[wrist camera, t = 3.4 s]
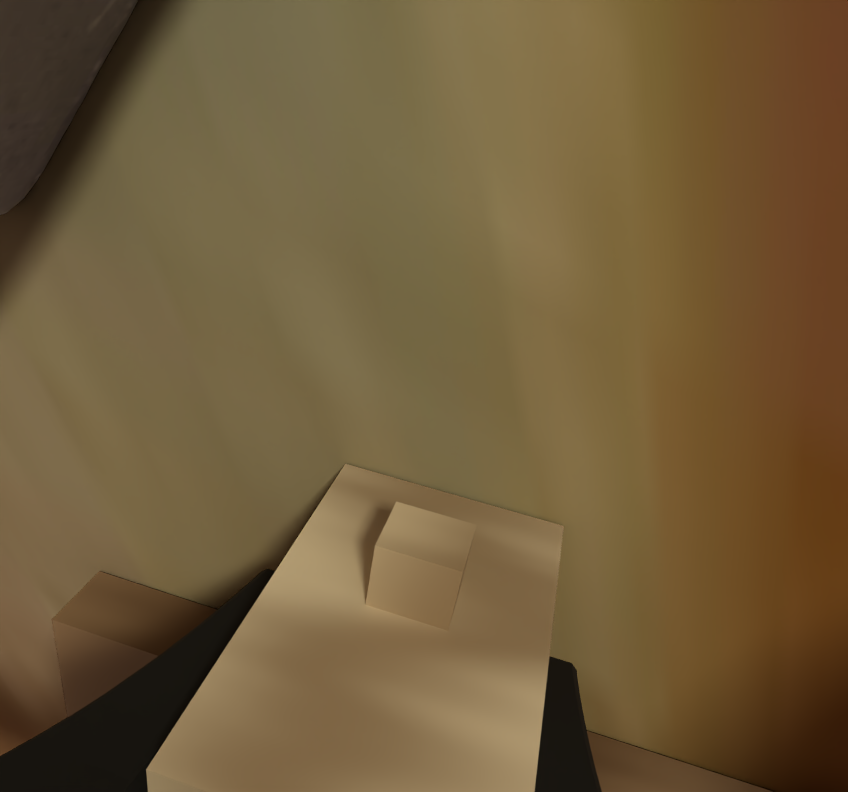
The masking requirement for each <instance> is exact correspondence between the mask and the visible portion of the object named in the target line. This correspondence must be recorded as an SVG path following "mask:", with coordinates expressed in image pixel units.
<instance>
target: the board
mask: <svg viewBox="0 0 848 792" xmlns="http://www.w3.org/2000/svg"><path fill="white" fill-rule="evenodd" d="M215 611H216V609H213V608H210V607H207V606H204V605H201V604H198V603H195V602H192V601H189V600H186V599H183V598H180V597H177V596H174V595H171V594H168V593H164V592H161V591H158V590H155V589H152V588H149V587H146V586H143V585H140V584H137V583H134V582H131V581H128V580H125V579H122V578H119V577H116V576H112V575H109V574H106V573H103V572H100V571H99V572H98V573H97V574H96V575H95V576H94V577H93V578H92V579H91V580H90V581H89V582H88V583H87V584H86V585H85V586H84V587H83V588H82V589H81V590H80V591H79V592H78V593H77V594H76V595H75V596H74V597H73V598H72V599H71V600H70V601H69V602H68V603H67V605H66V606H65V607H64V608H63V609H62V610H61V611H60V612H59V613H58V614H57V615H56V616H55V617H54V618H53V619H52V624H53V631H54V637H55V643H56V649H57V655H58V662H59V668H60V674H61V680H62V686H63V693H64V699H65V705H66V711H67V717H69V716H71V715H72V714H74V713H75V712H77V711H79V710H80V709H82V708H83V707H85V706H86V705H88V704H90V703H91V702H93V701H94V700H96V699H97V698H99V697H100V696H102V695H103V694H105V693H106V692H108V691H109V690H111V689H112V688H114V687H115V686H117V685H118V684H119V683H121V682H122V681H124V680H125V679H126V678H128V677H129V676H131V675H132V674H134V673H135V672H136V671H138V670H139V669H141V668H142V667H144V666H145V665H146V664H148V663H149V662H151V661H152V660H154V659H155V658H156V657H158V656H159V655H160V654H162V653H163V652H164V651H166V650H167V649H168V648H170V647H171V646H172V645H173V644H175V643H176V642H177V641H179V640H180V639H181V638H182V637H184V636H185V635H186V634H188V633H189V632H190V631H192V630H193V629H194V628H195V627H197V626H198V625H199V624H201V623H202V622H203V621H204V620H205V619H207V618H208V617H209V616H210V615H212V614H213V613H214V612H215ZM587 734H588V739H589V743H590V748H591V752H592V756H593V760H594V764H595V768H596V772H597V776H598V779H599V783H600V787H601V790H602V792H773V791H770V790H767V789H764V788H761V787H757V786H754V785H751V784H748V783H745V782H742V781H739V780H736V779H733V778H730V777H727V776H724V775H721V774H718V773H715V772H712V771H709V770H706V769H702V768H699V767H696V766H693V765H690V764H687V763H684V762H681V761H678V760H675V759H672V758H669V757H666V756H663V755H660V754H657V753H654V752H650V751H647V750H644V749H641V748H638V747H635V746H632V745H629V744H626V743H623V742H620V741H617V740H614V739H611V738H608V737H605V736H602V735H599V734H595V733H592V732H589V731H587Z"/></svg>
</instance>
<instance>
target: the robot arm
mask: <svg viewBox="0 0 848 792" xmlns="http://www.w3.org/2000/svg"><path fill="white" fill-rule="evenodd" d="M274 573H275V571H273V570H270V569H266V570H264V571H262V572H261V573H260V574H259V575H257V576H256V577H255V578H254V579H253V580H252V581H251V582H249V583H248V584H247V585H246V586H245V587H244V588H243V589H241V590H240V591H239V592H238V593H237V594H236V595H234V596H233V597H232V598H231V599H230V600H229V601H227V602H226V603H225V604H224V605H223V606H221V607H220V608H219V609H218V610H216V611H215V612H214V613H213V614H212V615H210V616H209V617H208V618H207V619H205V620H204V621H203V622H202V623H201V624H199V625H198V626H197V627H195V628H194V629H193V630H192V631H190V632H189V633H188V634H186V635H185V636H184V637H182V638H181V639H180V640H179V641H177V642H176V643H175V644H173V645H172V646H171V647H170V648H168V649H167V650H166V651H164V652H163V653H162V654H160V655H159V656H158V657H156V658H155V659H154V660H152V661H151V662H149V663H148V664H146V665H145V666H144V667H142V668H141V669H139V670H138V671H136V672H135V673H134V674H132V675H131V676H129V677H128V678H126V679H125V680H124V681H122V682H121V683H119V684H118V685H117V686H115V687H114V688H112V689H111V690H109V691H108V692H106V693H105V694H103V695H102V696H100V697H99V698H97V699H96V700H94V701H93V702H91V703H90V704H88V705H86V706H85V707H83V708H82V709H80V710H79V711H77V712H75V713H74V714H72V715H71V716H69V717H67V718H66V719H64V720H62V721H61V722H59V723H57V724H56V725H54V726H52V727H51V728H49V729H47V730H46V731H44V732H42V733H41V734H39V735H37V736H35V737H34V738H32V739H30V740H28V741H27V742H25V743H23V744H21V745H19V746H18V747H16V748H14V749H12V750H10V751H9V752H7V753H5V754H3V755H2V756H0V792H148V786H147V773H146V769H147V767H148V766H149V764H150V763H151V761H152V760H153V758H154V757H155V755H156V754H157V752H158V751H159V749H160V748H161V746H162V744H163V743H164V741H165V740H166V738H167V737H168V735H169V734H170V732H171V731H172V729H173V728H174V726H175V725H176V723H177V721H178V720H179V718H180V717H181V715H182V714H183V712H184V711H185V709H186V708H187V706H188V705H189V703H190V701H191V700H192V698H193V697H194V695H195V694H196V692H197V691H198V689H199V688H200V686H201V685H202V683H203V682H204V680H205V678H206V677H207V675H208V674H209V672H210V671H211V669H212V668H213V666H214V665H215V663H216V662H217V660H218V659H219V657H220V655H221V654H222V652H223V651H224V649H225V648H226V646H227V645H228V643H229V642H230V640H231V639H232V637H233V636H234V634H235V632H236V631H237V629H238V628H239V626H240V625H241V623H242V622H243V620H244V619H245V617H246V616H247V614H248V612H249V611H250V609H251V608H252V606H253V605H254V603H255V602H256V600H257V599H258V597H259V596H260V594H261V593H262V591H263V589H264V588H265V586H266V585H267V583H268V582H269V580H270V579H271V577H272V576H273V574H274ZM535 792H602V790H601V787H600V783H599V779H598V776H597V772H596V768H595V764H594V760H593V756H592V752H591V748H590V743H589V739H588V734H587V730H586V725H585V721H584V715H583V710H582V705H581V699H580V693H579V687H578V679H577V670H576V669H575V667H574V666H573V664H572V663H569V662H566V661H563V660H560V659H556V658H553V657H550V656H549V665H548V674H547V683H546V692H545V701H544V710H543V719H542V728H541V737H540V747H539V756H538V765H537V774H536V783H535Z"/></svg>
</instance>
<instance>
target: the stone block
mask: <svg viewBox="0 0 848 792" xmlns="http://www.w3.org/2000/svg"><path fill="white" fill-rule="evenodd" d="M137 1H138V0H0V215H1V214H5V213H7V212H8V211H9V210H11V209H12V208H13V207H14V206H15V205H17V204H18V203H19V202H20V201H21V200H23V199H24V197H25V196H26V195H27V193H28V192H29V191H30V189H31V188H32V187H33V185H34V184H35V183H36V181H37V180H38V178H39V176H40V175H41V173H42V172H43V171H44V169H45V167H46V165H47V163H48V162H49V160H50V158H51V156H52V154H53V153H54V151H55V149H56V147H57V145H58V144H59V142H60V140H61V138H62V136H63V134H64V133H65V131H66V129H67V128H68V126H69V125H70V123H71V121H72V120H73V118H74V116H75V114H76V112H77V110H78V108H79V107H80V105H81V104H82V102H83V100H84V98H85V96H86V94H87V92H88V90H89V88H90V86H91V84H92V82H93V80H94V79H95V77H96V75H97V73H98V71H99V70H100V68H101V66H102V64H103V63H104V61H105V59H106V57H107V56H108V54H109V52H110V50H111V48H112V47H113V45H114V43H115V41H116V40H117V38H118V36H119V34H120V33H121V31H122V29H123V28H124V26H125V24H126V23H127V21H128V19H129V17H130V15H131V13H132V11H133V9H134V7H135V5H136V3H137Z"/></svg>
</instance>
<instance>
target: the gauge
mask: <svg viewBox="0 0 848 792" xmlns="http://www.w3.org/2000/svg"><path fill="white" fill-rule="evenodd" d="M563 528H564V526H562V525H558V524H555V523H551V522H548V521H544V520H541V519H537V518H534V517H530V516H527V515H523V514H520V513H516V512H513V511H509V510H506V509H502V508H499V507H495V506H492V505H488V504H485V503H481V502H478V501H474V500H471V499H467V498H464V497H460V496H457V495H453V494H450V493H446V492H443V491H439V490H436V489H432V488H429V487H425V486H422V485H418V484H415V483H411V482H408V481H404V480H401V479H397V478H394V477H390V476H387V475H383V474H380V473H376V472H373V471H369V470H366V469H362V468H359V467H355V466H352V465H348V464H345V465H344V467H343V468H342V470H341V471H340V473H339V474H338V476H337V477H336V479H335V481H334V482H333V484H332V485H331V487H330V488H329V490H328V491H327V493H326V494H325V496H324V497H323V499H322V500H321V502H320V504H319V505H318V507H317V508H316V510H315V511H314V513H313V514H312V516H311V517H310V519H309V520H308V522H307V523H306V525H305V527H304V528H303V530H302V531H301V533H300V534H299V536H298V537H297V539H296V540H295V542H294V543H293V545H292V546H291V548H290V550H289V551H288V553H287V554H286V556H285V557H284V559H283V560H282V562H281V563H280V565H279V566H278V568H277V570H276V571H275V573H274V574H273V576H272V577H271V579H270V580H269V582H268V583H267V585H266V586H265V588H264V589H263V591H262V593H261V594H260V596H259V597H258V599H257V600H256V602H255V603H254V605H253V606H252V608H251V609H250V611H249V612H248V614H247V616H246V617H245V619H244V620H243V622H242V623H241V625H240V626H239V628H238V629H237V631H236V632H235V634H234V636H233V637H232V639H231V640H230V642H229V643H228V645H227V646H226V648H225V649H224V651H223V652H222V654H221V655H220V657H219V659H218V660H217V662H216V663H215V665H214V666H213V668H212V669H211V671H210V672H209V674H208V675H207V677H206V678H205V680H204V682H203V683H202V685H201V686H200V688H199V689H198V691H197V692H196V694H195V695H194V697H193V698H192V700H191V701H190V703H189V705H188V706H187V708H186V709H185V711H184V712H183V714H182V715H181V717H180V718H179V720H178V721H177V723H176V725H175V726H174V728H173V729H172V731H171V732H170V734H169V735H168V737H167V738H166V740H165V741H164V743H163V744H162V746H161V748H160V749H159V751H158V752H157V754H156V755H155V757H154V758H153V760H152V761H151V763H150V764H149V766H148V767H147V769H146V773H147V786H148V792H535V783H536V774H537V765H538V756H539V747H540V737H541V728H542V719H543V710H544V701H545V692H546V683H547V674H548V665H549V655H550V646H551V637H552V628H553V619H554V610H555V601H556V592H557V583H558V574H559V564H560V555H561V546H562V537H563Z"/></svg>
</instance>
